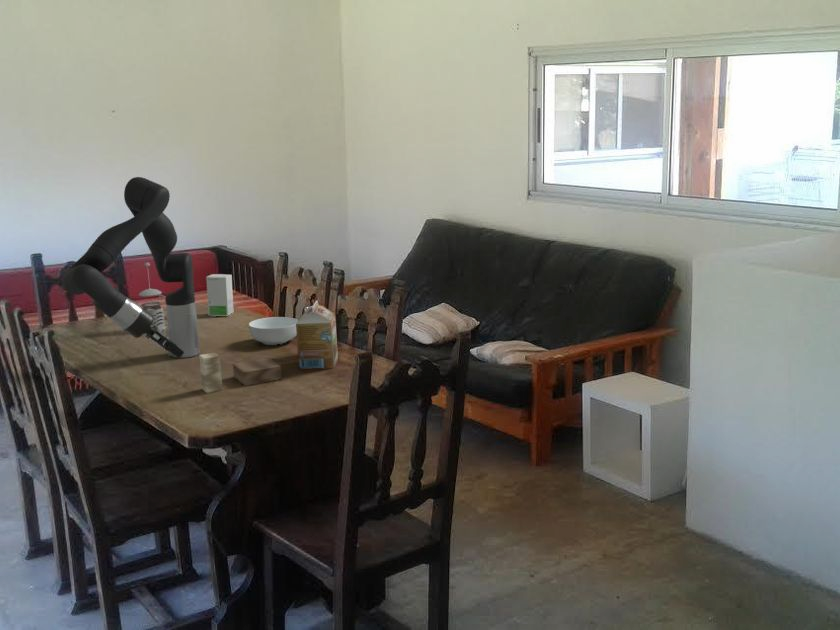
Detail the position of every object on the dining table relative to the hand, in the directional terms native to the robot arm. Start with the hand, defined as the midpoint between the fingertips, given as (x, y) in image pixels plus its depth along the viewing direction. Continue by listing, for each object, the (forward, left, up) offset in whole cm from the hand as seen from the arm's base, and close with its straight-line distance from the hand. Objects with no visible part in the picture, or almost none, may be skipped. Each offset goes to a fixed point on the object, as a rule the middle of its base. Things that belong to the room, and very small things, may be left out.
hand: (178, 351), depth 260 cm
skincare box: (-22, +101, -13) cm, 104 cm away
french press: (-39, +78, -13) cm, 88 cm away
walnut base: (+17, +16, -12) cm, 26 cm away
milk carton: (+32, +31, -13) cm, 46 cm away
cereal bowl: (+11, +58, -13) cm, 60 cm away
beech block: (+7, +5, -12) cm, 15 cm away
